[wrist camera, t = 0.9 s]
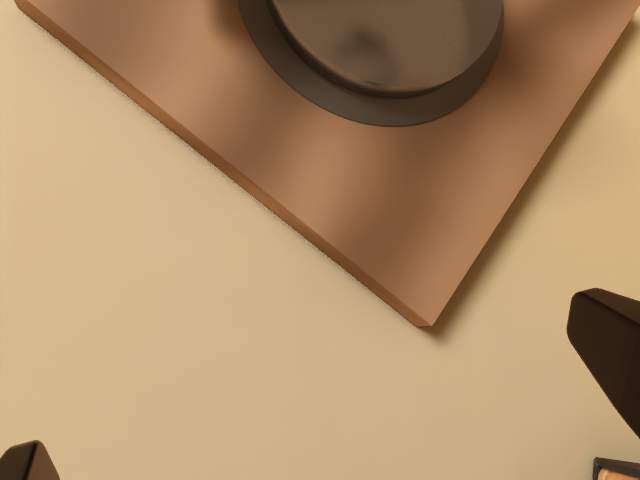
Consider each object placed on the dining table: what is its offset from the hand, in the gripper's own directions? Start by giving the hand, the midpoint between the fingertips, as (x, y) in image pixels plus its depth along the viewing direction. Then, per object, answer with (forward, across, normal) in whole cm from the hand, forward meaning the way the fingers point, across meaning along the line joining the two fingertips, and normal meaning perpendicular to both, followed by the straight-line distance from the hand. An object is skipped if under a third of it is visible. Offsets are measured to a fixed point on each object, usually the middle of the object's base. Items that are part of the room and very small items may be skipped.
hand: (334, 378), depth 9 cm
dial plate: (+19, -8, -2) cm, 21 cm away
